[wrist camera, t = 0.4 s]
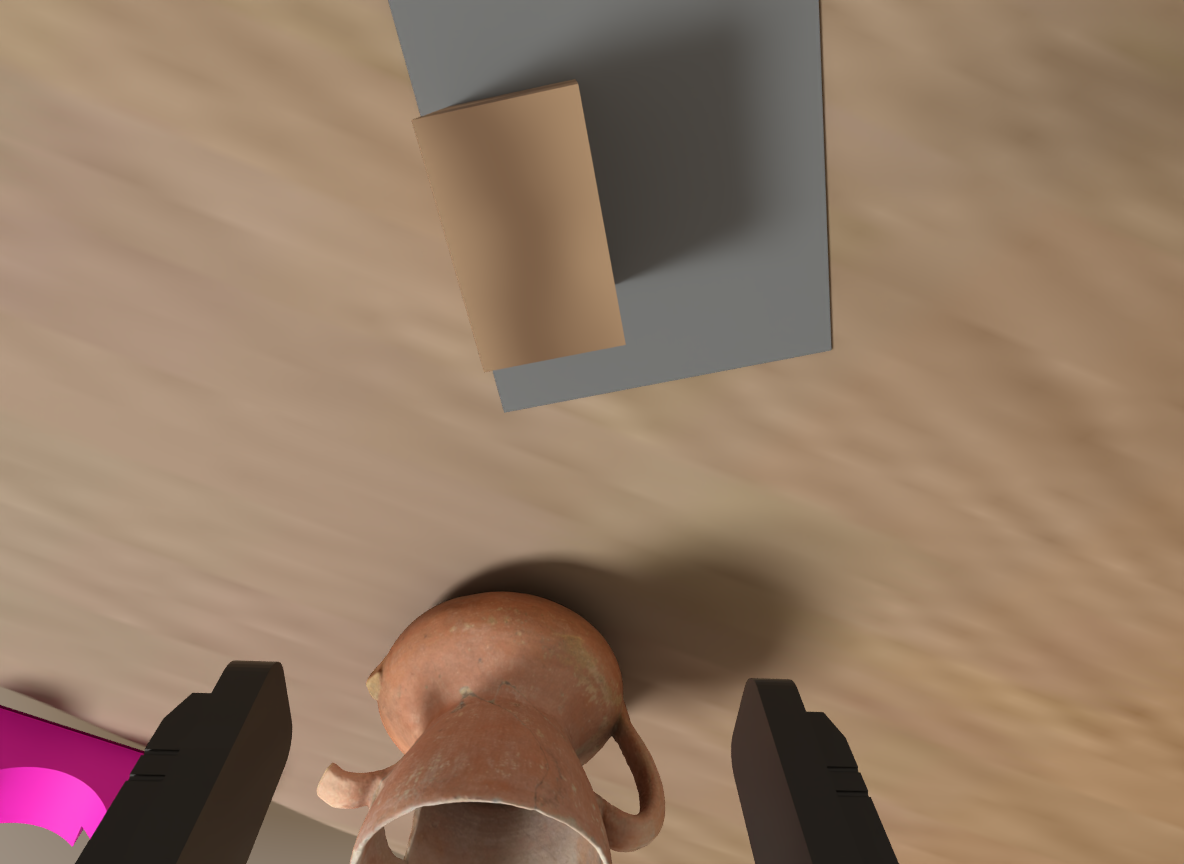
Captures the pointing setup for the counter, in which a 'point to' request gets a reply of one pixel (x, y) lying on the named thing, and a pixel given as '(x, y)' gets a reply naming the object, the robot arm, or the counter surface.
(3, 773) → the toy block
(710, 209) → the grey mat
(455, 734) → the ceramic jug
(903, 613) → the counter surface
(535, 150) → the walnut block
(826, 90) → the counter surface
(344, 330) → the counter surface
